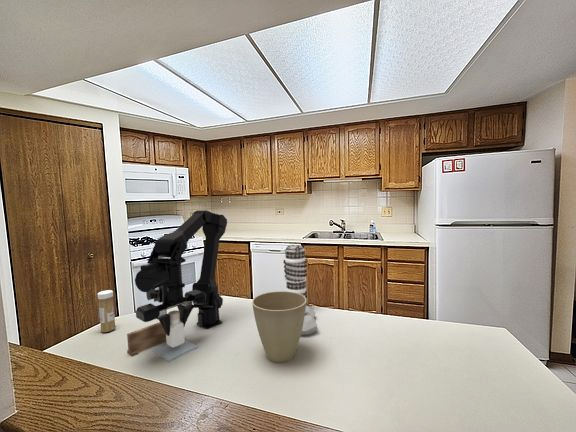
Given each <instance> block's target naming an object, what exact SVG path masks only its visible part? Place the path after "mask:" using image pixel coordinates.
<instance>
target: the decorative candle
mask: <svg viewBox="0 0 576 432" xmlns="http://www.w3.org/2000/svg"><path fill="white" fill-rule="evenodd" d="M305 251H306V249H305V248H304V247H303V245H300V244H290V245H287V247H286V248H285V249H284V252H285V257H284V259H283V264H284V265H283V268H284V273H285V274H284V278H285V279H284V281H285V282H286V287H285V291H287V292H295V293H299V294H301V295H303V296H304V297H305V298H306V300H307V301H306V306H308V299H307V298H308V291H307V284H306V281H308V280H307V276H308V274H307V272H308V270H307V269H306V268H307V267H308V264H307V263H308V260H306V252H305Z"/></svg>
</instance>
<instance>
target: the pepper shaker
mask: <svg viewBox="0 0 576 432" xmlns="http://www.w3.org/2000/svg"><path fill="white" fill-rule="evenodd" d="M167 314H168V315H170V334H169V336H167V335H166V341H165V342H166V344H167V345H169V346H171V347H176V346H178V345H181V344H183V343H184V342H185V340H186V339H185V326H184V325H183V322H181V321H180V312H179V310H178V309H176V310H171V311H169V312H167ZM184 339H185V340H184Z"/></svg>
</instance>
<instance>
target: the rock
mask: <svg viewBox="0 0 576 432" xmlns="http://www.w3.org/2000/svg"><path fill="white" fill-rule="evenodd" d="M315 316H316V311H314V310H313V309H312V308H311V307H310V306H308V305H307V306H306V310H305V317H304V323H303V327H302V332H301V336H308V335H311V334H313V333H316V332H317V330H318V324H317V322H316V319H315Z"/></svg>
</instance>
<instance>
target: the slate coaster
mask: <svg viewBox="0 0 576 432" xmlns="http://www.w3.org/2000/svg"><path fill="white" fill-rule="evenodd" d="M184 340H185V342H184V343H183V344H181V345H178V346H176V347H171V346H169V345H167V343H165V344H164V345H161V346H159V347H156V348H154V349H153V350H152V351H153V353H155V355H157V356H159V357H160V358H162V359H163V360H165V361H166V362H168V363H170V362H172V361H174V360H176V359H178V358H180V357H182V356H184V355H186V354H188V353H191V352H192V351H194V350H197V349H198V346H197V345H196V344H195V343H193V342H191V341H189V340H187V339H185V338H184Z"/></svg>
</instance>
